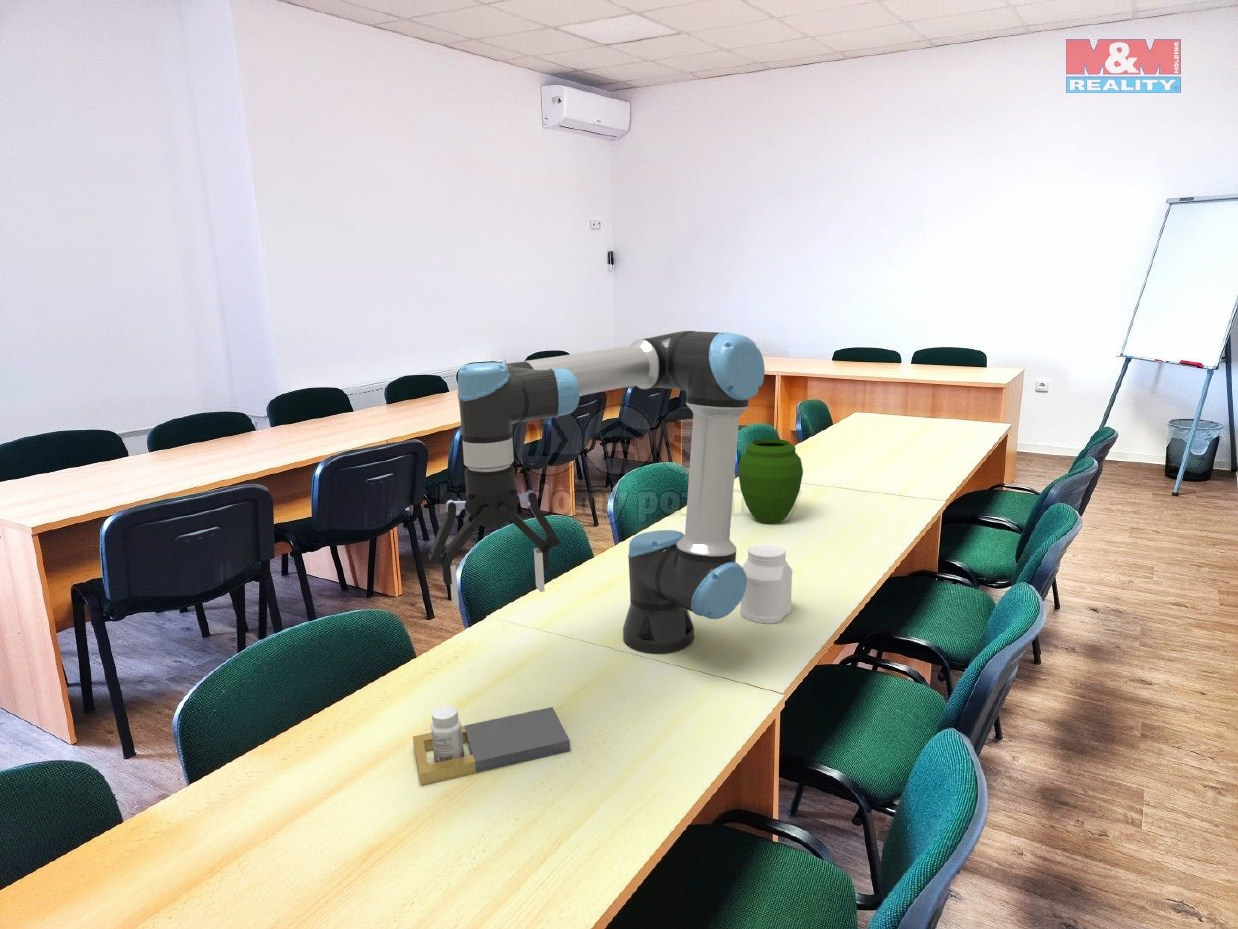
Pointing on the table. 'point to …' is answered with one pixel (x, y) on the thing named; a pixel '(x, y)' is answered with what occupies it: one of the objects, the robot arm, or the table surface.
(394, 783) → the table surface
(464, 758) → the flat tray
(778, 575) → the jar
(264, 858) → the table surface
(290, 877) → the table surface
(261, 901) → the table surface
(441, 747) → the pill bottle
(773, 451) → the vase
